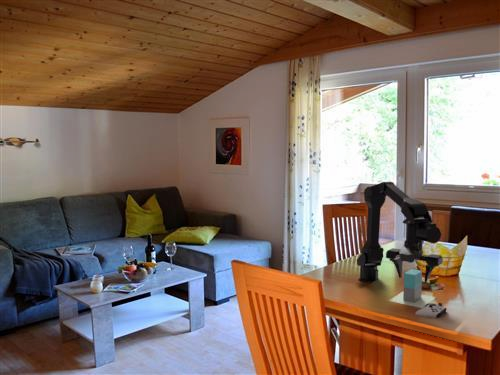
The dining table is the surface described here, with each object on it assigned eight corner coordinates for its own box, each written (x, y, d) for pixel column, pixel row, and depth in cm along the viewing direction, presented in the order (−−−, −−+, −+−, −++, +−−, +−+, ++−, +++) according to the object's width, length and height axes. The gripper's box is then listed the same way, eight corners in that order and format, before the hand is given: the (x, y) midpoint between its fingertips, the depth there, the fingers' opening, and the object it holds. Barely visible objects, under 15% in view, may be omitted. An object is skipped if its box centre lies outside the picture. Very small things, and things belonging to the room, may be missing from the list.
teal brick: (403, 286, 169) (404, 273, 169) (410, 282, 175) (411, 269, 174) (414, 289, 167) (415, 275, 166) (421, 284, 172) (422, 270, 172)
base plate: (388, 303, 170) (388, 300, 169) (403, 293, 180) (403, 290, 180) (422, 310, 162) (422, 308, 162) (435, 300, 173) (435, 297, 173)
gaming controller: (425, 305, 165) (440, 294, 161) (437, 320, 163) (452, 310, 159) (412, 314, 157) (428, 303, 153) (425, 330, 154) (441, 319, 151)
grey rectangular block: (403, 300, 170) (403, 286, 169) (410, 295, 175) (410, 282, 174) (414, 302, 167) (414, 289, 167) (421, 297, 172) (421, 284, 172)
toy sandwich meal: (444, 296, 178) (444, 284, 177) (406, 291, 183) (407, 279, 183) (445, 286, 189) (445, 275, 189) (409, 282, 195) (410, 271, 194)
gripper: (380, 237, 168) (379, 280, 170) (433, 245, 157) (431, 291, 158) (392, 233, 177) (391, 273, 179) (444, 239, 165) (442, 283, 167)
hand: (412, 280), depth 170 cm, fingers open, 9 cm apart
